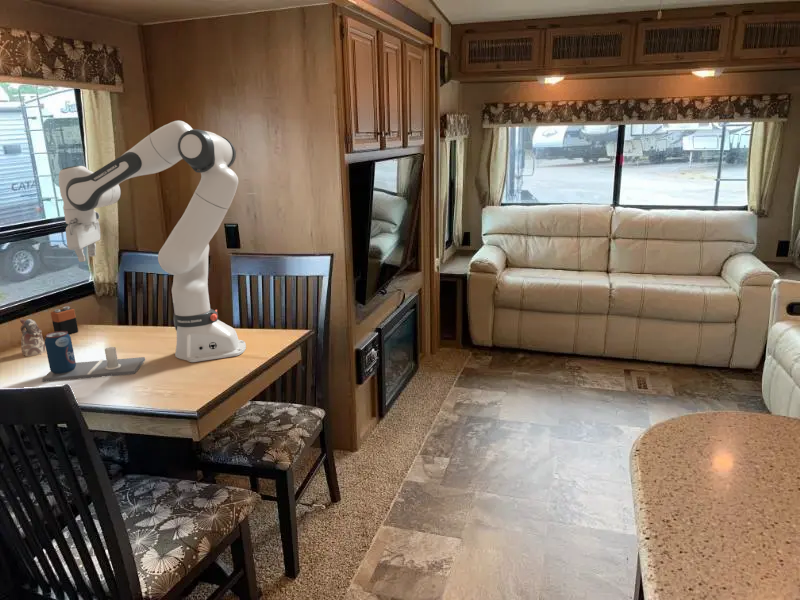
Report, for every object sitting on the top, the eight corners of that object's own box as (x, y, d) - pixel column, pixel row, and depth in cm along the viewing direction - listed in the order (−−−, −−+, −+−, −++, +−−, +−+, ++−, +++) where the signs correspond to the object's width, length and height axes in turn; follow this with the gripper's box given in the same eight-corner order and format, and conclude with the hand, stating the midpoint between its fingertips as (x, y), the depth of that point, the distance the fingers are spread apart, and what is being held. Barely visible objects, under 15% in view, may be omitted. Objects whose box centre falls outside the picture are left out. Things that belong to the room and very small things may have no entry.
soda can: (77, 372, 178) (70, 334, 175) (51, 377, 175) (43, 339, 171) (76, 365, 184) (69, 328, 181) (50, 370, 180) (43, 332, 177)
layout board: (145, 359, 189) (141, 339, 187) (134, 373, 178) (131, 352, 176) (58, 367, 186) (54, 346, 184) (42, 381, 174) (38, 359, 172)
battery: (79, 332, 221) (74, 306, 218) (61, 337, 215) (56, 311, 213) (72, 330, 223) (67, 305, 221) (54, 335, 218) (49, 309, 215)
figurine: (35, 356, 196) (28, 322, 192) (17, 355, 197) (10, 321, 194) (51, 349, 202) (45, 316, 199) (34, 348, 204) (27, 315, 201)
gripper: (78, 220, 182) (86, 264, 185) (100, 213, 201) (107, 252, 205) (57, 221, 181) (65, 265, 184) (81, 214, 200) (88, 253, 204)
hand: (87, 258), depth 195 cm, fingers open, 8 cm apart
